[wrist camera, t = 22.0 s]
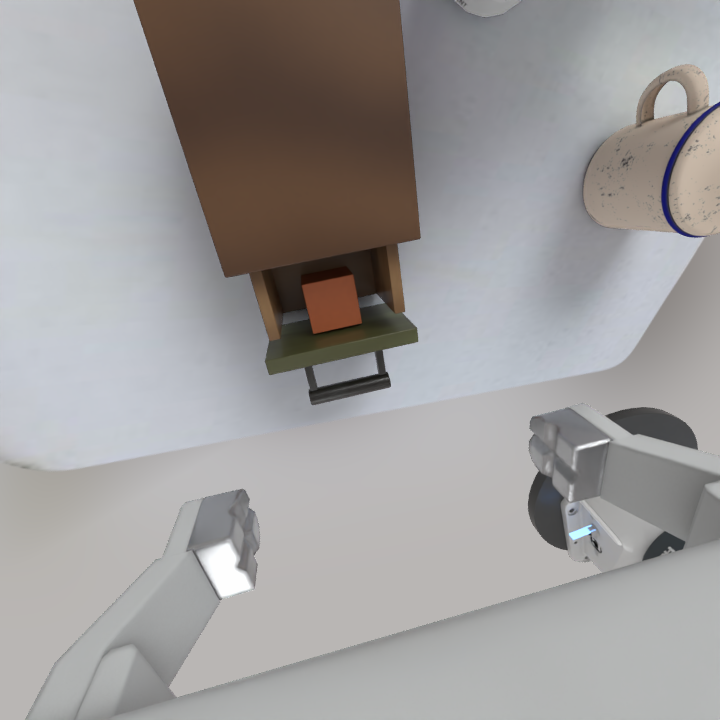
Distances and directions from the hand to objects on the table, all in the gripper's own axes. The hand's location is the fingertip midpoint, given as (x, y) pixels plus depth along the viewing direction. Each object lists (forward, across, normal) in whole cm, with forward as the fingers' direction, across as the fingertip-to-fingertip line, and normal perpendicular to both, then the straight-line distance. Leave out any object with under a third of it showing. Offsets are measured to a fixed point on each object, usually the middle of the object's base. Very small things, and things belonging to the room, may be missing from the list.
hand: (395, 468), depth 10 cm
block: (+23, 0, 0) cm, 23 cm away
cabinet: (+25, 0, -11) cm, 27 cm away
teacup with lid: (+25, -29, -5) cm, 39 cm away
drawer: (+24, 0, 0) cm, 24 cm away
